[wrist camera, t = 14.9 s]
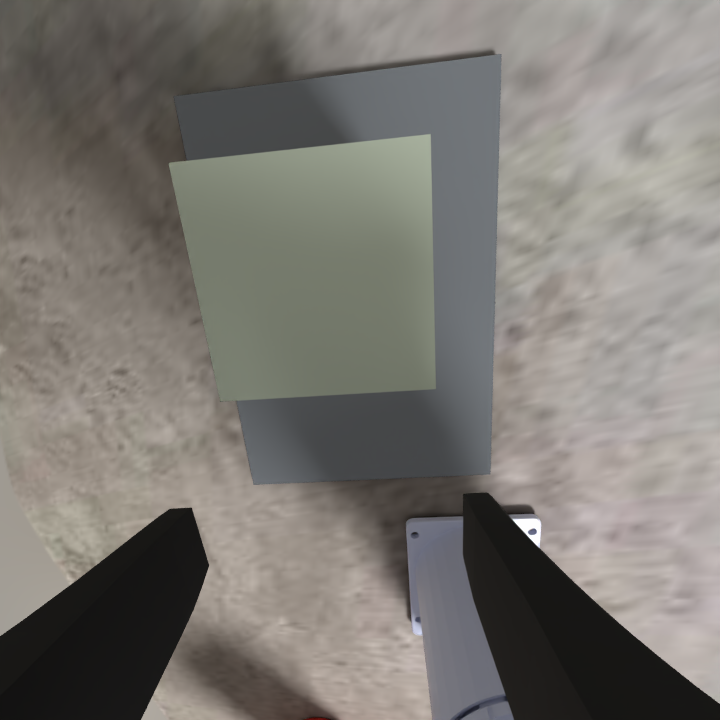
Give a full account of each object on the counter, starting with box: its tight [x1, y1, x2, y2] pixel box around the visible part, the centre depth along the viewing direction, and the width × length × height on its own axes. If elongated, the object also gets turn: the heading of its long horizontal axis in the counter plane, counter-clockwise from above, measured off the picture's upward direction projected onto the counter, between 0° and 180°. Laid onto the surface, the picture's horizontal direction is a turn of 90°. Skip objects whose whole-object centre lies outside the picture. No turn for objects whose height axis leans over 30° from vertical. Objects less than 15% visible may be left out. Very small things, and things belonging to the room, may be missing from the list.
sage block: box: [169, 134, 436, 402], centre depth 10 cm, size 5×5×5 cm
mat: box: [174, 54, 501, 485], centre depth 18 cm, size 20×14×1 cm
